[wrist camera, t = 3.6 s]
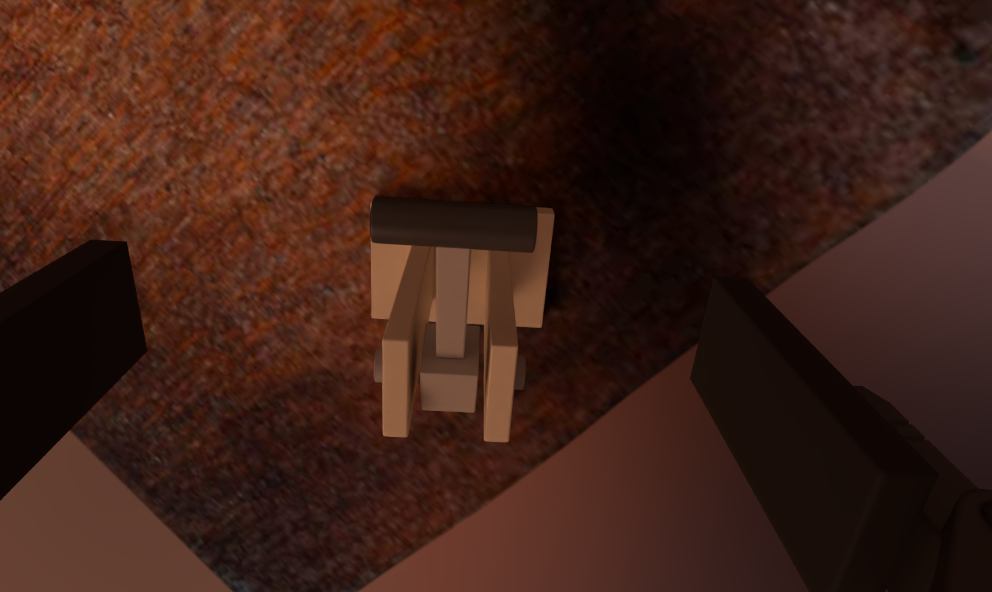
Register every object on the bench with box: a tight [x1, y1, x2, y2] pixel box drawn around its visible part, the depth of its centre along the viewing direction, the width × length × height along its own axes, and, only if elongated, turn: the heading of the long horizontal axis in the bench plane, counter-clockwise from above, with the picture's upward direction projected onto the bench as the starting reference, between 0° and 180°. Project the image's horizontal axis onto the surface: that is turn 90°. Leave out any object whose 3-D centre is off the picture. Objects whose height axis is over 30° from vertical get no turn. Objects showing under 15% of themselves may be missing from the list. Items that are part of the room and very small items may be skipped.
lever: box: [370, 196, 538, 412], centre depth 23 cm, size 10×5×2 cm, turn 177°
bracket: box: [370, 199, 555, 442], centre depth 30 cm, size 7×10×14 cm
